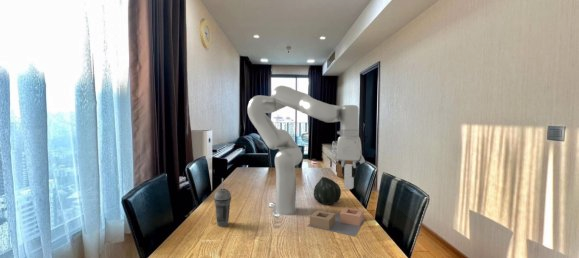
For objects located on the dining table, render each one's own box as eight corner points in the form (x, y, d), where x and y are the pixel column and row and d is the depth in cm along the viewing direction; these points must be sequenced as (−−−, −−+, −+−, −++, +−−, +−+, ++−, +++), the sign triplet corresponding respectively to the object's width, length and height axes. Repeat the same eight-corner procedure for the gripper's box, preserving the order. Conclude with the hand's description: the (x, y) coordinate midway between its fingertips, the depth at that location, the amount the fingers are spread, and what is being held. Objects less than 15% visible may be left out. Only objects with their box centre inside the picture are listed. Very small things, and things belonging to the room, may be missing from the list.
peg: (344, 188, 116) (344, 165, 116) (346, 186, 119) (346, 163, 119) (351, 189, 115) (351, 165, 114) (353, 187, 118) (353, 164, 117)
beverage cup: (213, 228, 112) (213, 181, 111) (213, 222, 119) (213, 177, 118) (231, 227, 114) (231, 180, 113) (230, 220, 121) (230, 176, 120)
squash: (349, 192, 148) (333, 170, 152) (338, 201, 135) (321, 176, 140) (331, 205, 154) (316, 183, 159) (319, 214, 142) (303, 190, 146)
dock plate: (307, 229, 112) (307, 216, 112) (323, 214, 130) (323, 202, 130) (355, 240, 103) (355, 226, 103) (365, 222, 121) (365, 210, 121)
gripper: (328, 133, 117) (328, 176, 117) (366, 135, 109) (366, 180, 110) (333, 132, 123) (333, 172, 124) (370, 133, 115) (370, 176, 116)
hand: (349, 175), depth 117 cm, fingers closed on peg, 3 cm apart
